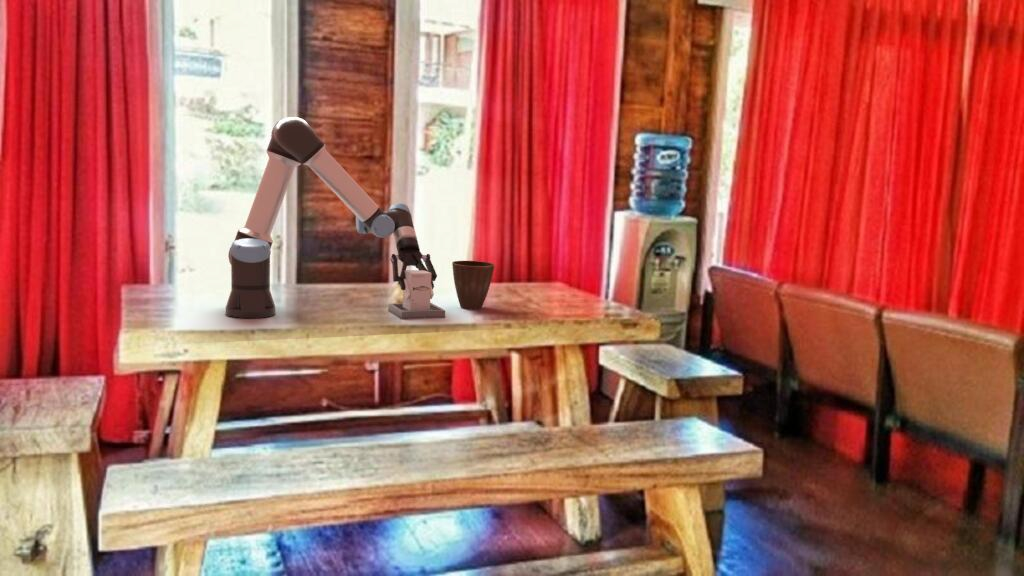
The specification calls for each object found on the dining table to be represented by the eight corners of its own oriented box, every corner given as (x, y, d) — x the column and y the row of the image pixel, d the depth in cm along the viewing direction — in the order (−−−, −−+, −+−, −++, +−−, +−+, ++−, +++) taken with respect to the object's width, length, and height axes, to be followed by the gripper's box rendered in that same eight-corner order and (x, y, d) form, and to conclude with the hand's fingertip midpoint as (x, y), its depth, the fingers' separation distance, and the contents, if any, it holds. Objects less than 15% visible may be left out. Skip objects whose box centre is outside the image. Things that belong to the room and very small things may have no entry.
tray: (401, 319, 260) (401, 312, 260) (388, 310, 273) (388, 303, 273) (445, 317, 266) (445, 310, 266) (430, 309, 280) (430, 302, 279)
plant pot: (484, 303, 296) (486, 260, 293) (498, 311, 282) (500, 266, 280) (445, 304, 291) (447, 260, 288) (457, 312, 277) (459, 266, 274)
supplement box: (409, 311, 265) (410, 273, 263) (401, 307, 271) (403, 269, 269) (430, 310, 268) (432, 272, 266) (422, 306, 275) (423, 269, 273)
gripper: (431, 249, 285) (445, 302, 273) (375, 249, 276) (387, 304, 264) (437, 236, 279) (452, 289, 267) (380, 235, 271) (392, 291, 259)
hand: (420, 296), depth 266 cm, fingers closed on supplement box, 7 cm apart
